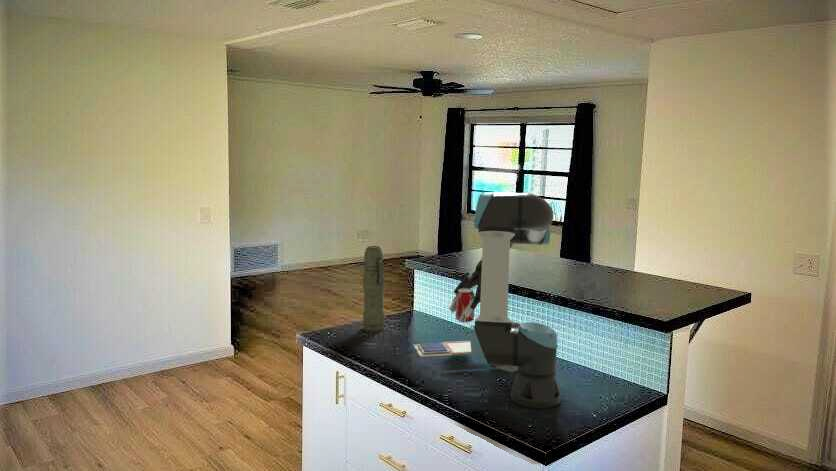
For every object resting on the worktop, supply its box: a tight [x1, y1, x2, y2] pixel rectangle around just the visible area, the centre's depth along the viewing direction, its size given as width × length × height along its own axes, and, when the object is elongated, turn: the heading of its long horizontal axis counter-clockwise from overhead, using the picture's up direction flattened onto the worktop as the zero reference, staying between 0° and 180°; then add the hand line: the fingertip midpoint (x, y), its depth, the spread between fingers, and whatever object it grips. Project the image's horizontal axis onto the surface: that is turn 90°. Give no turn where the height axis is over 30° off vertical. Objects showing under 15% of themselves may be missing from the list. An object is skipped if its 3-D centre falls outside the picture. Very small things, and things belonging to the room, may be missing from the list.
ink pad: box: [417, 341, 450, 355], centre depth 237 cm, size 10×10×1 cm
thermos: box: [362, 245, 385, 333], centre depth 262 cm, size 9×12×35 cm
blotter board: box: [412, 343, 472, 358], centre depth 239 cm, size 14×26×1 cm, turn 102°
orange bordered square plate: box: [442, 340, 471, 355], centre depth 240 cm, size 13×13×1 cm
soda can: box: [455, 288, 475, 324], centre depth 237 cm, size 7×7×12 cm
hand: (458, 312), depth 235 cm, fingers closed on soda can, 7 cm apart
